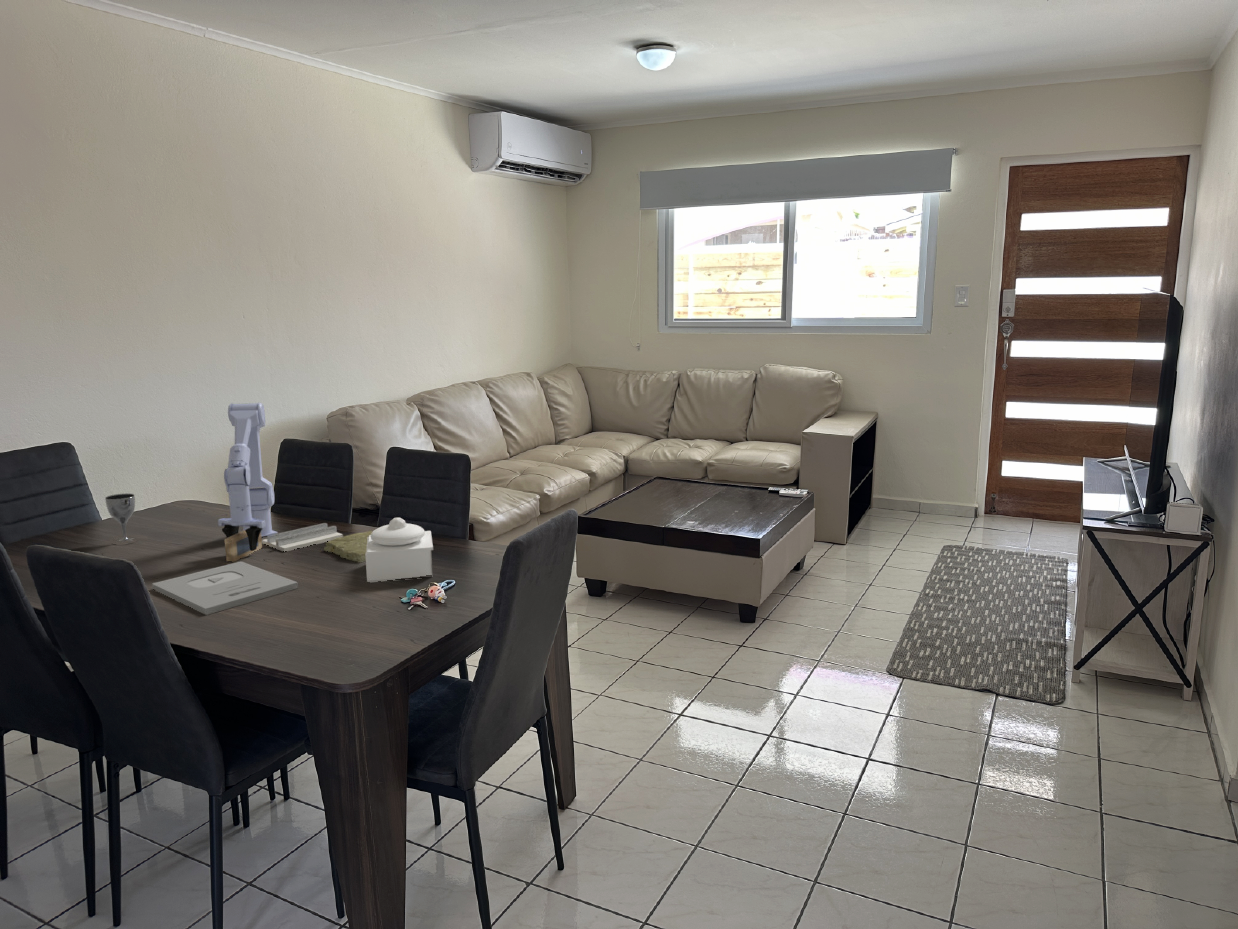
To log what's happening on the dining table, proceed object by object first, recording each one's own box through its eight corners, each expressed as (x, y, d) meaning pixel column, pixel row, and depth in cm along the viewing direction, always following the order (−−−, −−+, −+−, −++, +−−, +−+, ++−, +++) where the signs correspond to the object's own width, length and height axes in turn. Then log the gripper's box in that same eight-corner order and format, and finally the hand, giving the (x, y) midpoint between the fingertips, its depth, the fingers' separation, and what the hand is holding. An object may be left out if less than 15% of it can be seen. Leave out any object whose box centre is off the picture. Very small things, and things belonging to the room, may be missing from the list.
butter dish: (369, 564, 246) (365, 511, 243) (432, 559, 251) (429, 507, 247) (367, 583, 230) (363, 527, 226) (434, 577, 234) (431, 522, 231)
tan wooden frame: (226, 562, 249) (224, 539, 248) (254, 548, 262) (252, 526, 261) (234, 562, 248) (232, 539, 247) (262, 548, 262) (260, 526, 261)
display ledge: (262, 543, 267) (261, 534, 266) (319, 530, 281) (319, 521, 281) (284, 552, 258) (283, 542, 257) (343, 537, 273) (342, 528, 272)
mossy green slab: (370, 539, 273) (369, 528, 272) (410, 550, 261) (409, 539, 260) (319, 553, 258) (318, 542, 258) (358, 565, 246) (358, 553, 246)
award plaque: (206, 616, 207) (205, 608, 206) (152, 591, 225) (151, 583, 225) (298, 590, 226) (297, 582, 225) (241, 568, 244) (241, 561, 244)
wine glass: (141, 542, 268) (135, 497, 265) (112, 547, 264) (106, 500, 261) (138, 537, 275) (133, 492, 272) (110, 541, 270) (104, 495, 267)
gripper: (209, 508, 250) (214, 552, 253) (254, 510, 247) (258, 554, 250) (224, 502, 257) (229, 545, 259) (268, 504, 254) (272, 547, 257)
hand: (244, 549), depth 255 cm, fingers open, 5 cm apart
